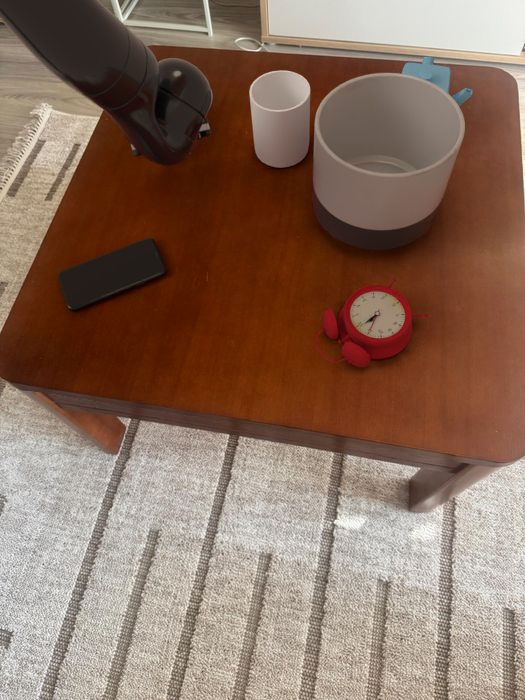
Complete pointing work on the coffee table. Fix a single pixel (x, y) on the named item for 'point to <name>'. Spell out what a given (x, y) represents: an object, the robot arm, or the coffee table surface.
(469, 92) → the teapot
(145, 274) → the smartphone
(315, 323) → the coffee table surface
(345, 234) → the planter
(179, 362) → the coffee table surface
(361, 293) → the alarm clock
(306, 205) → the coffee table surface
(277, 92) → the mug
